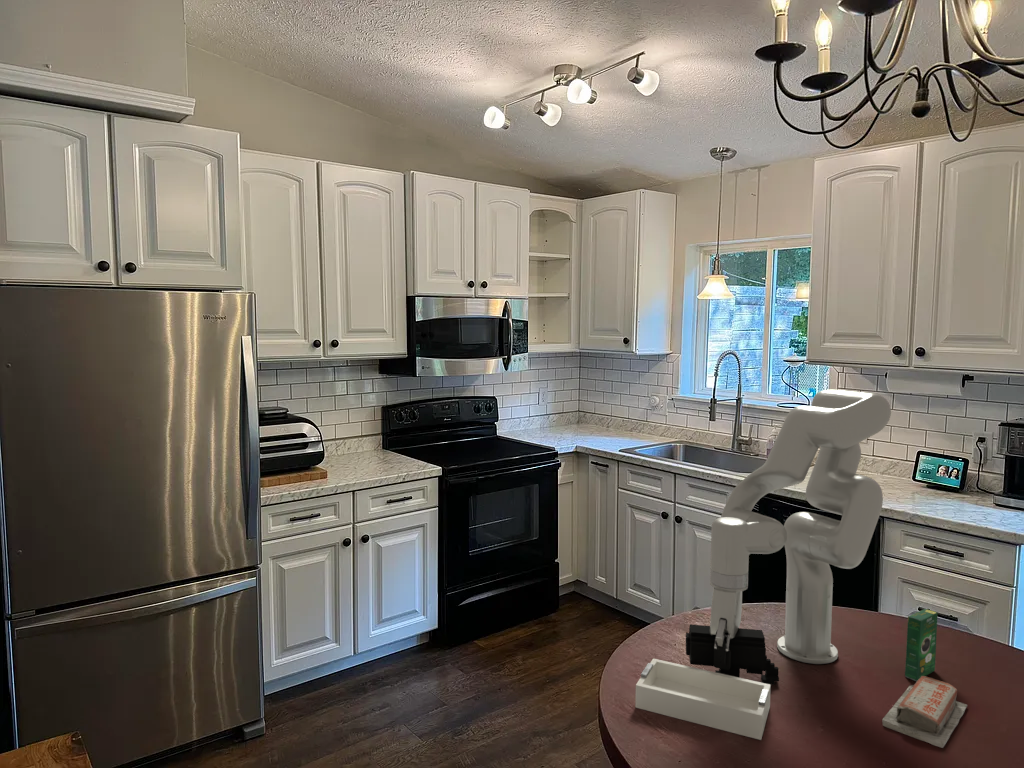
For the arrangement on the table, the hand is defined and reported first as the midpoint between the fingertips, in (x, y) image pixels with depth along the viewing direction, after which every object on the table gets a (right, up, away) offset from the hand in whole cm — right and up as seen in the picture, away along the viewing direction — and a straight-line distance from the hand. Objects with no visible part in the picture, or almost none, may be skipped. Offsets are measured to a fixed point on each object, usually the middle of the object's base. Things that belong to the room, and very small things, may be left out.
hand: (726, 658), depth 143 cm
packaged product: (+33, -6, -14) cm, 36 cm away
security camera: (+1, -4, 0) cm, 5 cm away
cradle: (-8, -5, -11) cm, 14 cm away
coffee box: (+41, -4, +2) cm, 42 cm away
